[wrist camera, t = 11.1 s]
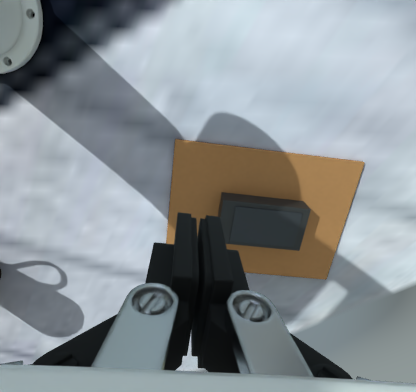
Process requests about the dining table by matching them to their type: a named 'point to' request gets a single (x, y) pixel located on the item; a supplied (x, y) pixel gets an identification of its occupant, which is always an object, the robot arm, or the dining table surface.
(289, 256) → the cork mat
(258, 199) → the block
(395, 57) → the dining table surface
